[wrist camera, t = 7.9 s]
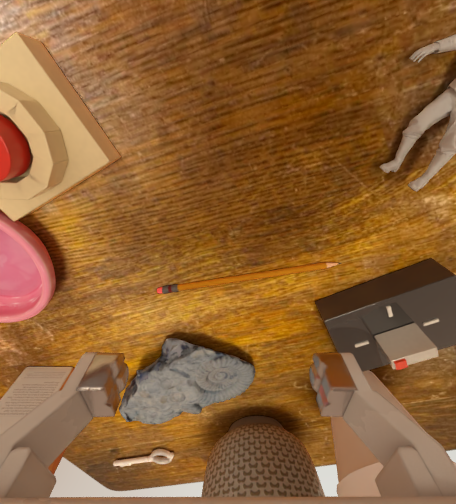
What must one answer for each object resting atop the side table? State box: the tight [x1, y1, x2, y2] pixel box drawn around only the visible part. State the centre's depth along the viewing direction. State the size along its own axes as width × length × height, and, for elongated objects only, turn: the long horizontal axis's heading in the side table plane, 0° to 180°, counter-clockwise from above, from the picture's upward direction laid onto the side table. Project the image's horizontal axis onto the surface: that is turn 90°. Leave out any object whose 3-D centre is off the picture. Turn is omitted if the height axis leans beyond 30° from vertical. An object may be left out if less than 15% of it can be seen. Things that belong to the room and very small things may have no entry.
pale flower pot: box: [330, 370, 456, 497], centre depth 28 cm, size 12×12×14 cm
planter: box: [202, 416, 325, 497], centre depth 33 cm, size 17×17×16 cm
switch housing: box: [315, 258, 456, 372], centre depth 26 cm, size 12×10×3 cm
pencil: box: [157, 262, 341, 294], centre depth 25 cm, size 19×1×1 cm, turn 100°
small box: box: [0, 367, 74, 475], centre depth 28 cm, size 8×6×13 cm
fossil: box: [119, 338, 255, 424], centre depth 31 cm, size 13×18×4 cm
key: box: [113, 449, 174, 467], centre depth 44 cm, size 12×1×4 cm
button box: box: [0, 32, 121, 222], centre depth 17 cm, size 10×8×4 cm
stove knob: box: [374, 323, 438, 370], centre depth 24 cm, size 4×1×3 cm, turn 118°
